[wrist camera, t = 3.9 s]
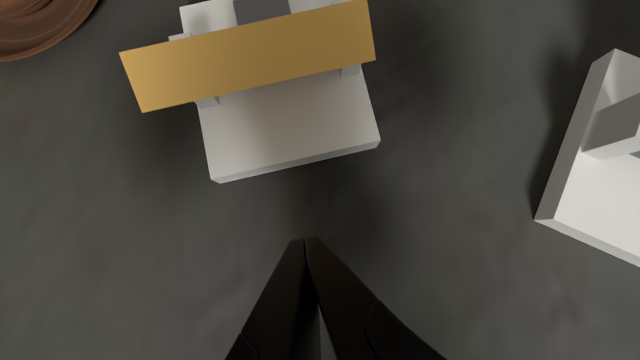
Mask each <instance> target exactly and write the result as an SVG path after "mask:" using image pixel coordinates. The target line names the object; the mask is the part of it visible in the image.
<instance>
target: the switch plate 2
mask: <svg viewBox="0 0 640 360" xmlns="http://www.w3.org/2000/svg"><path fill="white" fill-rule="evenodd" d="M637 151H640V58H639V57H636V56H633V55H631V54H628V53H626V52H623V51H621V50H618V49H616V48H615V49H613V50H612V51H610V52H609V53H607V54H606V55H604V56H602V57H601V58H599V59H598V60H596V61H594V62H593V63H592V64H591V67H590V69H589V72H588V75H587V77H586V80H585V83H584V86H583V88H582V91H581V94H580V96H579V99H578V102H577V104H576V107H575V110H574V113H573V115H572V118H571V121H570V123H569V126H568V129H567V131H566V134H565V137H564V140H563V142H562V145H561V148H560V150H559V153H558V156H557V158H556V161H555V164H554V166H553V169H552V172H551V175H550V177H549V180H548V183H547V185H546V188H545V191H544V193H543V196H542V199H541V202H540V204H539V207H538V210H537V212H536V215H535V218H534V221H536V222H539V223H541V224H543V225H546V226H548V227H550V228H552V229H555V230H557V231H559V232H561V233H564V234H566V235H568V236H570V237H573V238H575V239H577V240H579V241H582V242H584V243H586V244H588V245H591V246H593V247H595V248H597V249H600V250H602V251H604V252H607V253H609V254H611V255H613V256H616V257H618V258H620V259H622V260H625V261H627V262H629V263H631V264H634V265H636V266H638V267H640V159H639V158H637V157H635V156H632V155H630V154H629V153H633V152H637Z"/></svg>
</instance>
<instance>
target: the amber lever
mask: <svg viewBox="0 0 640 360" xmlns="http://www.w3.org/2000/svg"><path fill="white" fill-rule="evenodd" d="M119 55H120V57H121V60H122V62H123V65H124V67H125V70H126V73H127V75H128V78H129V80H130V83H131V86H132V88H133V91H134V93H135V96H136V98H137V101H138V104H139V106H140V109H141V111H142V113H144V112H149V111H153V110H157V109H162V108H166V107H171V106H175V105H180V104H184V103H188V102H193V101H197V100H202V99H206V98H210V97H215V96H219V95H224V94H228V93H233V92H237V91H241V90H246V89H250V88H255V87H259V86H263V85H268V84H272V83H277V82H281V81H286V80H290V79H294V78H299V77H303V76H308V75H312V74H316V73H321V72H325V71H330V70H334V69H339V68H343V67H347V66H352V65H356V64H361V63H365V62H369V61H374V60H376V57H375V50H374V43H373V36H372V30H371V23H370V16H369V9H368V2H367V0H352V1H347V2H343V3H338V4H334V5H330V6H325V7H321V8H316V9H312V10H307V11H303V12H298V13H294V14H289V15H285V16H280V17H276V18H271V19H267V20H262V21H258V22H253V23H249V24H244V25H240V26H235V27H231V28H226V29H222V30H217V31H213V32H208V33H204V34H199V35H195V36H191V37H186V38H182V39H177V40H173V41H168V42H164V43H159V44H155V45H150V46H146V47H141V48H137V49H132V50H128V51H123V52H119Z"/></svg>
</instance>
